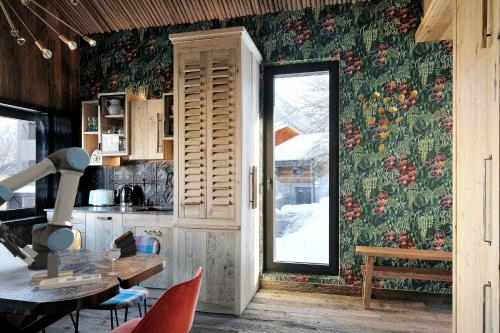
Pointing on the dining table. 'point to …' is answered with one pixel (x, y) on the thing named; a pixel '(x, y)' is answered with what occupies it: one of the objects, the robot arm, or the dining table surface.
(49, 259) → the gray knobbed block
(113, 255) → the wineglass
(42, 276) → the oak board
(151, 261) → the dining table surface
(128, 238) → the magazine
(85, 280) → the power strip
